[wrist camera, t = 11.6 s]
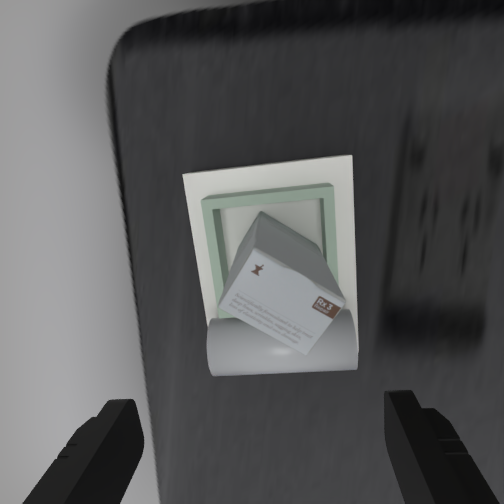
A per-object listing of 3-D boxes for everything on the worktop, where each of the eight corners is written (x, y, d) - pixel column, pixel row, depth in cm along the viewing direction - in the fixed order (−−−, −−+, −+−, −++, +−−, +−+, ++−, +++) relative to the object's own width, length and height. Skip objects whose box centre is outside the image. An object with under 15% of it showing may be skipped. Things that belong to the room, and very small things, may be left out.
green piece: (328, 182, 28) (333, 186, 25) (334, 295, 31) (339, 310, 28) (208, 195, 29) (200, 200, 27) (224, 303, 32) (218, 318, 29)
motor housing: (345, 154, 30) (366, 156, 23) (352, 335, 35) (371, 387, 28) (191, 172, 32) (162, 179, 24) (218, 343, 37) (202, 394, 29)
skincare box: (236, 249, 31) (208, 311, 19) (262, 206, 29) (248, 244, 18) (295, 284, 31) (303, 364, 19) (323, 243, 30) (349, 302, 18)
